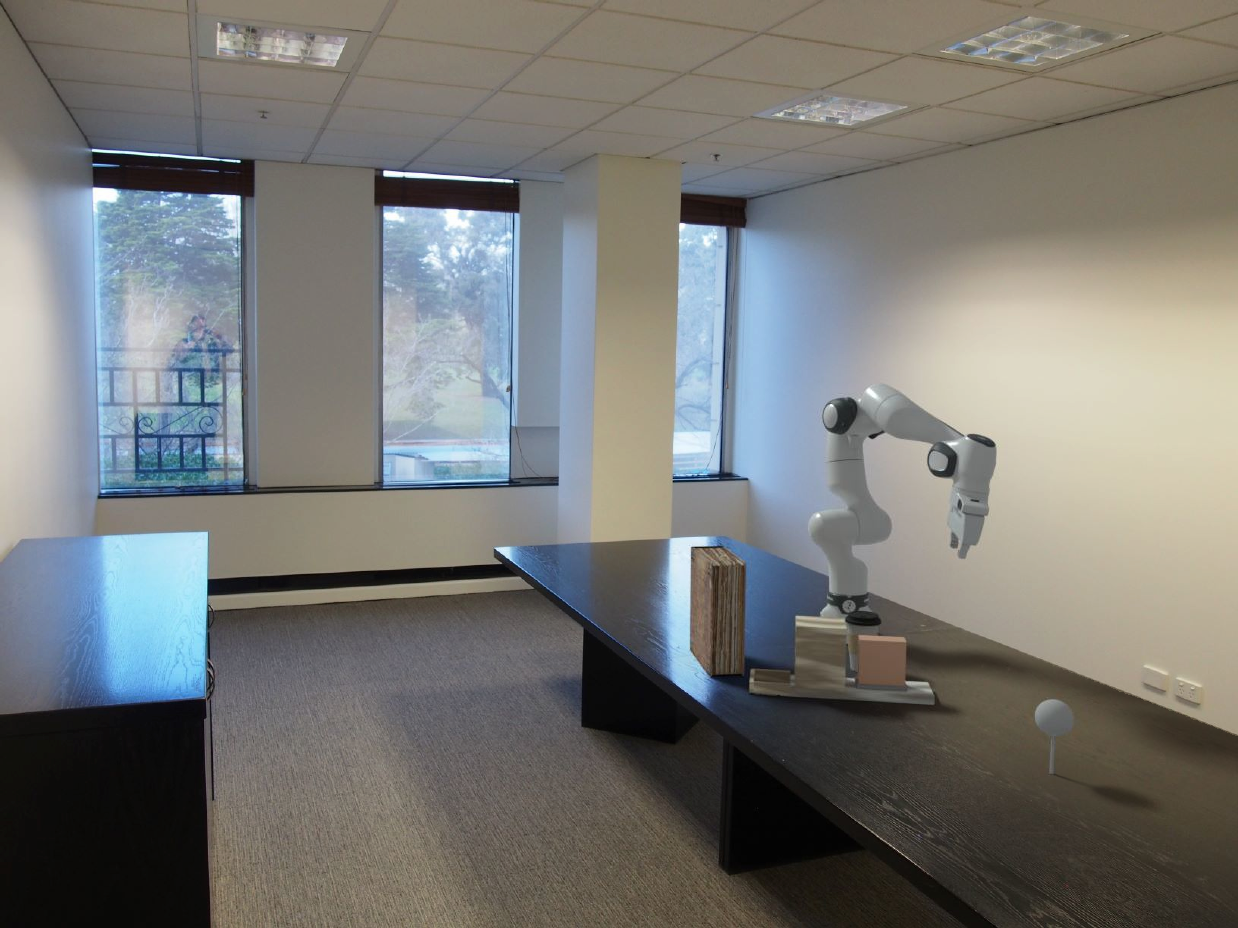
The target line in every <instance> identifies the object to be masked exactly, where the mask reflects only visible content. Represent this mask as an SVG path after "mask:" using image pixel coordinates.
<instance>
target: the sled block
mask: <svg viewBox="0 0 1238 928" xmlns="http://www.w3.org/2000/svg"><path fill="white" fill-rule="evenodd" d="M906 662H907V640H906V638H905V637H904V636H889V635H888V636H887V635H885V636H884V635H878V636H869V635H859V637H858V669H857V672H856V673H857V676H854V678H855V684H856V688H857V689H874V690H891V691H907V685H906V683H905V681H906V666H907V663H906Z"/></svg>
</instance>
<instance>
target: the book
mask: <svg viewBox="0 0 1238 928" xmlns="http://www.w3.org/2000/svg"><path fill="white" fill-rule="evenodd" d="M689 589H690V591H689V592H690V596H689V597H690V599H689V600H690V607H689V608H690V609H689V610H690V611H689V613H690V614H689V615H690V616H689V651H690V652H691V653H692V654H693V656H694V658H695V659H696V660H697V661H698V664H699V665H700V666H701V667H702V669H703V671H705V673H706V674H707V675H708V677H709V676H710V677H711V678H712V676H719V675H723V676H724V675H741V674H742V675H741V676H745V657H746V656H745V655H746V654H745V653H746V652H745V648H746V607H747V606H746V604H747V603H746V602H747V601H746V600H747V599H746V598H747V596H746V595H747V594H746V592H747V563H746V561H744V560H743V559H742V558H740V557H739V556H738V555H736V554H735V553H733V552H732V551H730V550H729V549H728V548H727V547H726V546H724V545H712V546H711V545H701V546H700V545H699V546H698V545H697V546H691V547H690V588H689ZM710 677H709V678H710Z"/></svg>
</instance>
